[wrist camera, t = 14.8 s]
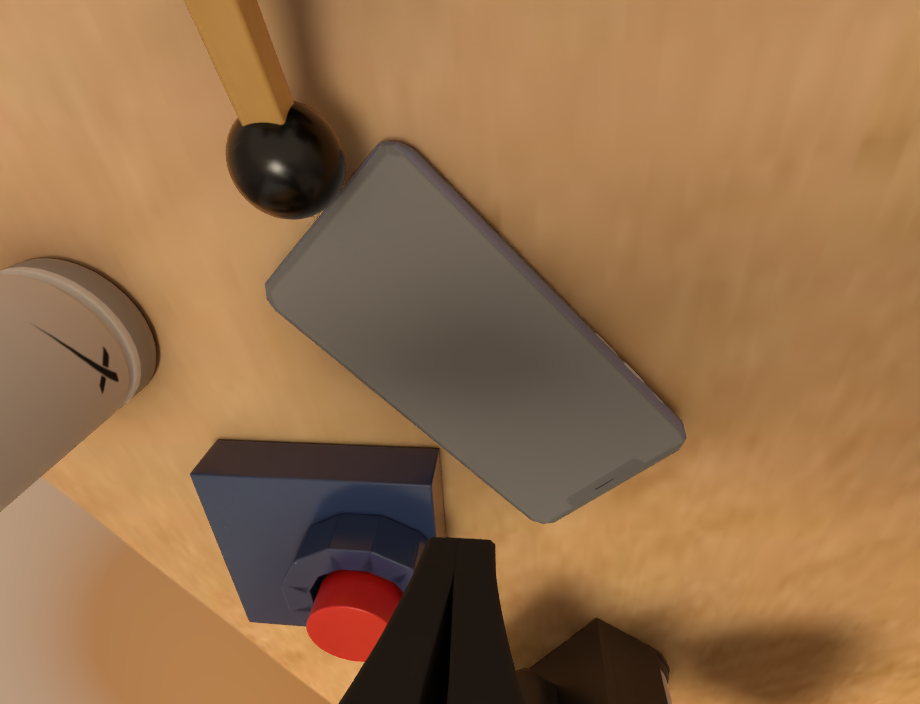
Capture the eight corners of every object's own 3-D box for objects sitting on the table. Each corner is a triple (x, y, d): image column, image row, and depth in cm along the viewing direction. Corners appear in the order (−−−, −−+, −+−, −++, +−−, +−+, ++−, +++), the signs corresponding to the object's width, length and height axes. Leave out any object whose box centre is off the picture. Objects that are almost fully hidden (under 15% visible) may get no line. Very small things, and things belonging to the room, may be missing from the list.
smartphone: (389, 128, 14) (699, 442, 18) (397, 124, 15) (692, 426, 19) (252, 296, 18) (542, 533, 22) (265, 286, 19) (541, 515, 23)
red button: (401, 569, 20) (391, 610, 19) (409, 624, 22) (401, 665, 20) (314, 563, 20) (297, 603, 19) (328, 617, 22) (314, 658, 21)
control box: (445, 448, 21) (430, 522, 18) (455, 597, 26) (445, 678, 23) (216, 438, 23) (161, 507, 19) (267, 583, 27) (231, 659, 24)
